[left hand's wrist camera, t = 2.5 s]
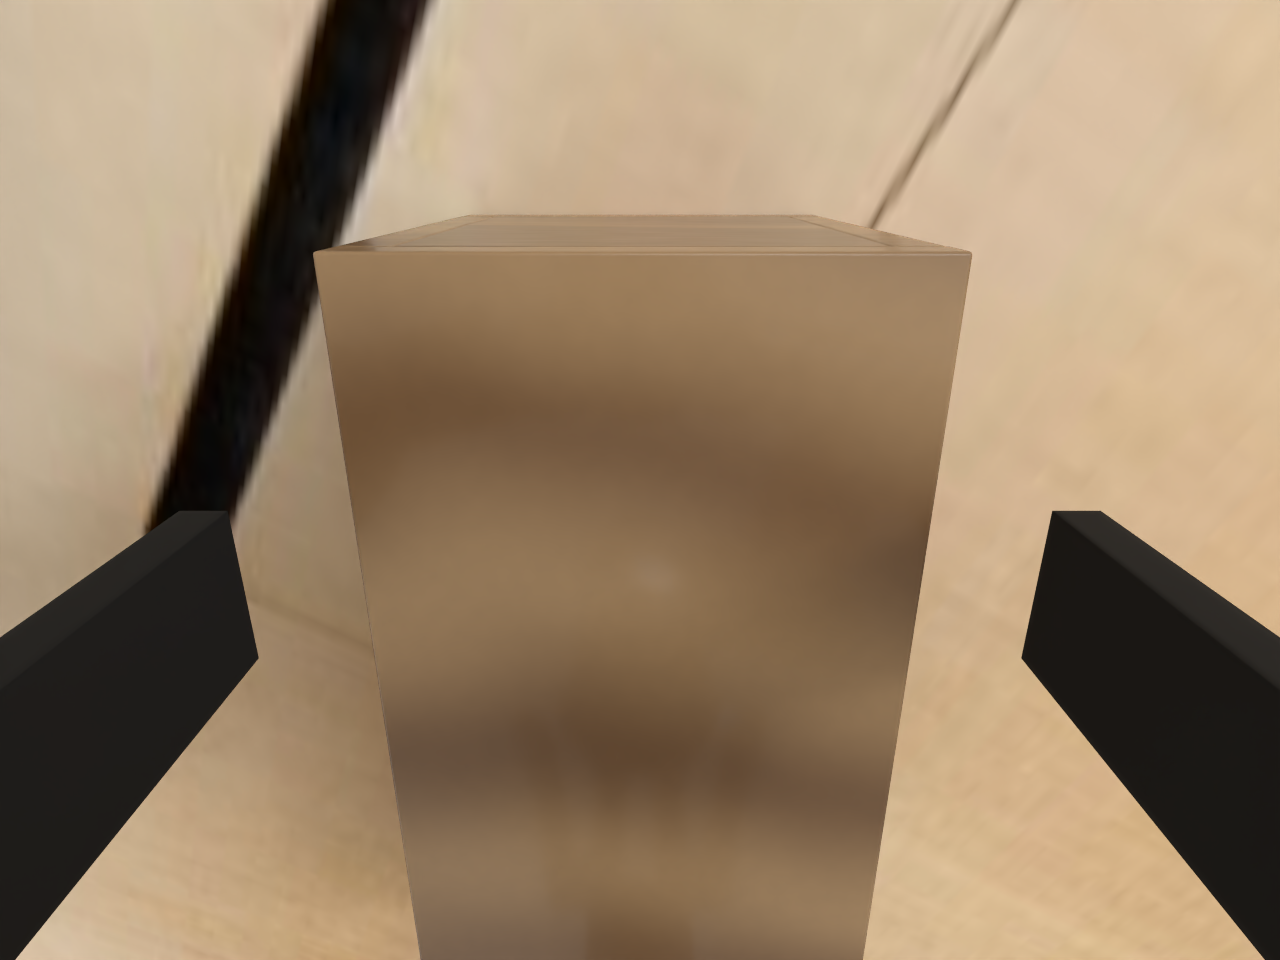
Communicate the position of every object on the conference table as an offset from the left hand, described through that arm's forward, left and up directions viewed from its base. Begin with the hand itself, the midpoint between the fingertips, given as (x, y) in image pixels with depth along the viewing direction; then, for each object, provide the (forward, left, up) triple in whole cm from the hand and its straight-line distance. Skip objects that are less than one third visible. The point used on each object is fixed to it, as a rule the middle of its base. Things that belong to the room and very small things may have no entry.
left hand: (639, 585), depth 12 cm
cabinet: (+4, -2, -12) cm, 13 cm away
